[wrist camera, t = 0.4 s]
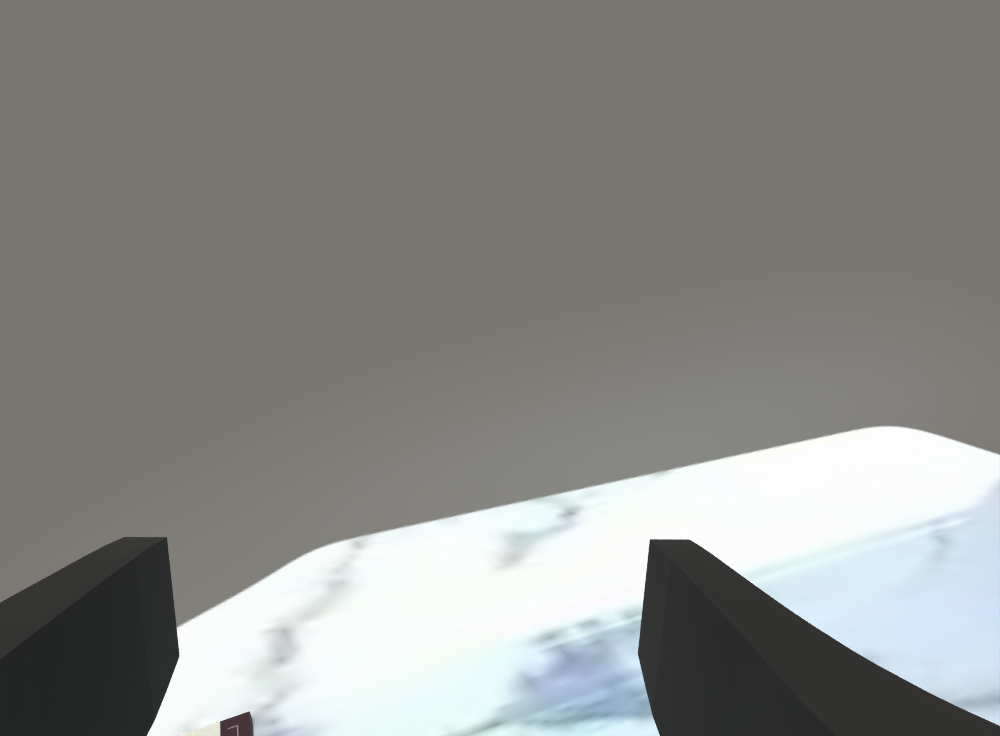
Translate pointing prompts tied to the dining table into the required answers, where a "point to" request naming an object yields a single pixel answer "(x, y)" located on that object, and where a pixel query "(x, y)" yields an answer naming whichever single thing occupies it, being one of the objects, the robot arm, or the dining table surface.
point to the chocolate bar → (227, 727)
